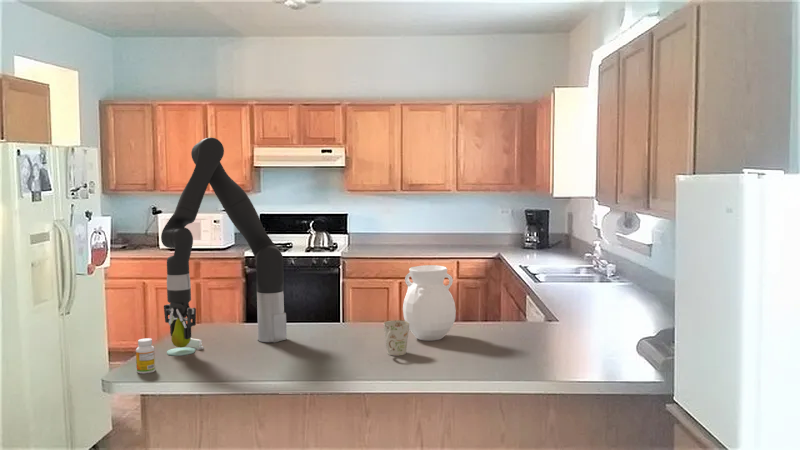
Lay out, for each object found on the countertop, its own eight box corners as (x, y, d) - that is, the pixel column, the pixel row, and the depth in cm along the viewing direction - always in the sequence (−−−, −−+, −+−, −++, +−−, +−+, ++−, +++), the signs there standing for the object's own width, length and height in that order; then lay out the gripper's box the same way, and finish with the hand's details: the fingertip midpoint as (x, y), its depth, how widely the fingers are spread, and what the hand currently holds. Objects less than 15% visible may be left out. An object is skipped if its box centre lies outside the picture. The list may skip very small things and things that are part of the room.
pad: (200, 351, 251) (200, 349, 251) (178, 357, 244) (178, 355, 244) (183, 347, 256) (183, 346, 256) (161, 353, 249) (161, 351, 249)
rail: (203, 348, 255) (203, 339, 255) (197, 349, 253) (197, 341, 253) (184, 344, 261) (184, 336, 261) (179, 345, 259) (178, 337, 259)
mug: (412, 351, 248) (412, 321, 247) (400, 360, 236) (400, 329, 235) (389, 349, 251) (388, 319, 250) (375, 358, 239) (375, 327, 238)
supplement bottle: (139, 369, 230) (138, 337, 229) (157, 368, 231) (156, 337, 230) (134, 374, 225) (133, 342, 224) (153, 373, 225) (151, 341, 225)
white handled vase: (395, 341, 262) (394, 270, 260) (414, 330, 279) (413, 263, 277) (446, 345, 255) (445, 272, 253) (462, 334, 272) (462, 265, 270)
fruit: (194, 346, 250) (193, 310, 249) (178, 350, 246) (176, 314, 245) (184, 343, 254) (183, 308, 253) (167, 347, 250) (166, 311, 249)
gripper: (202, 287, 247) (204, 337, 249) (174, 284, 256) (176, 332, 257) (183, 291, 241) (185, 342, 243) (155, 287, 250) (157, 336, 251)
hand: (180, 337), depth 250 cm, fingers closed on fruit, 6 cm apart
